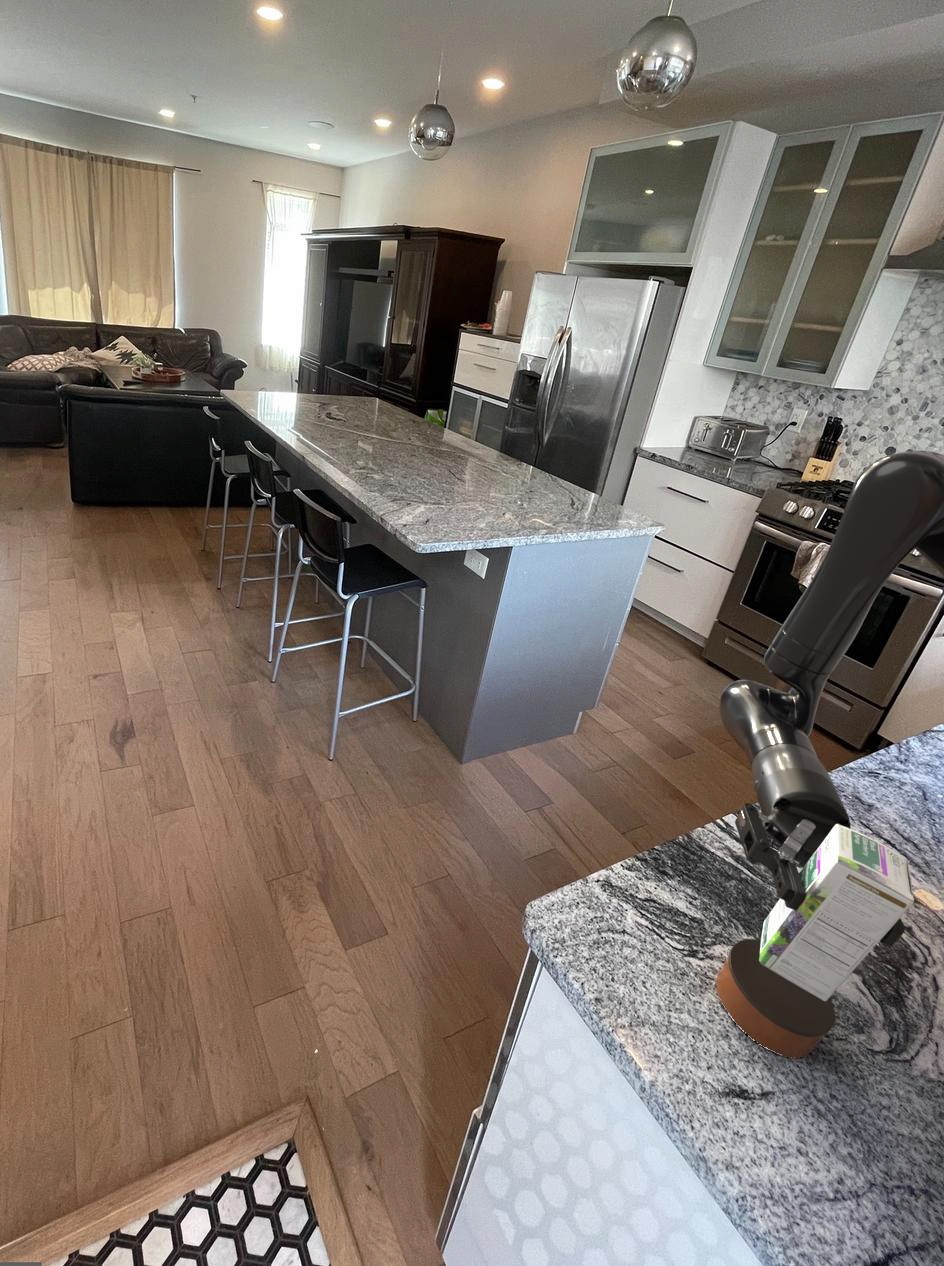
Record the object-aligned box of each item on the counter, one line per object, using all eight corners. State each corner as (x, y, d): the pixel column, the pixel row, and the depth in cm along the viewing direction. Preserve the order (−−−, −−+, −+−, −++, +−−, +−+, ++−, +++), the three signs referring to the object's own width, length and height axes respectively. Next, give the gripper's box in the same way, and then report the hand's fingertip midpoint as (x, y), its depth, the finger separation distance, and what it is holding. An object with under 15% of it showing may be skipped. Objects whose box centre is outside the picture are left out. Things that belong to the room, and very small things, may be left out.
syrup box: (761, 920, 63) (832, 818, 57) (828, 957, 61) (910, 855, 54) (757, 963, 59) (833, 858, 52) (829, 1006, 56) (919, 901, 50)
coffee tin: (743, 949, 69) (758, 925, 67) (833, 1030, 62) (852, 1005, 60) (696, 987, 64) (711, 962, 62) (788, 1079, 57) (807, 1054, 56)
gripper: (739, 745, 69) (772, 858, 55) (887, 793, 66) (964, 927, 51) (713, 796, 72) (737, 915, 58) (852, 844, 69) (915, 983, 54)
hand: (843, 920), depth 55 cm, fingers closed on syrup box, 7 cm apart
